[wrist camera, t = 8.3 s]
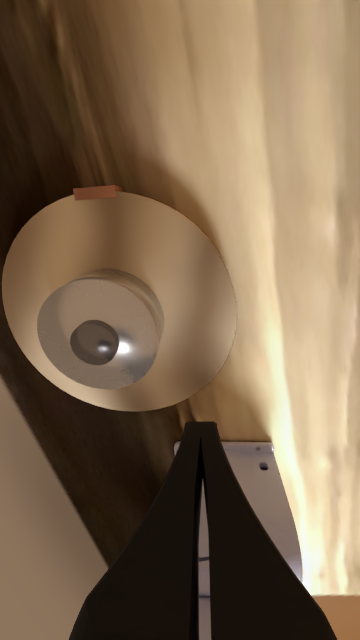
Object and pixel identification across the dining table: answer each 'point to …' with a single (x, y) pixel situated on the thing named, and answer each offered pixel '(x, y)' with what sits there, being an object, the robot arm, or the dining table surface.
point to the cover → (102, 328)
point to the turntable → (139, 260)
